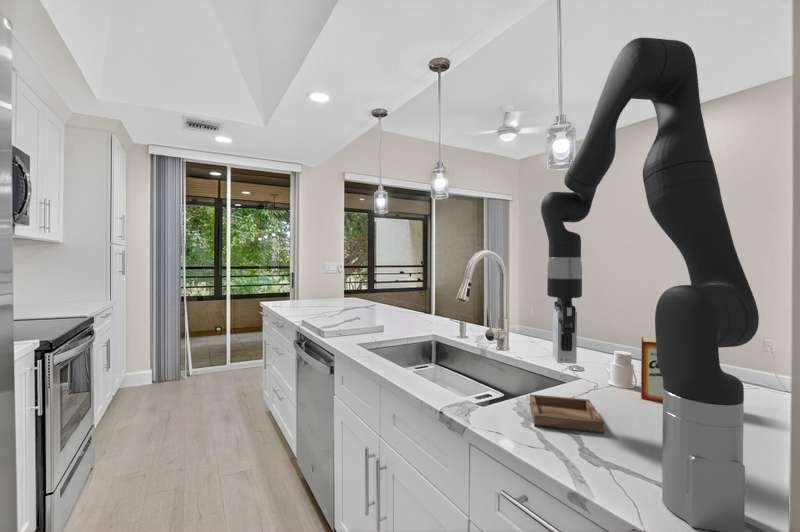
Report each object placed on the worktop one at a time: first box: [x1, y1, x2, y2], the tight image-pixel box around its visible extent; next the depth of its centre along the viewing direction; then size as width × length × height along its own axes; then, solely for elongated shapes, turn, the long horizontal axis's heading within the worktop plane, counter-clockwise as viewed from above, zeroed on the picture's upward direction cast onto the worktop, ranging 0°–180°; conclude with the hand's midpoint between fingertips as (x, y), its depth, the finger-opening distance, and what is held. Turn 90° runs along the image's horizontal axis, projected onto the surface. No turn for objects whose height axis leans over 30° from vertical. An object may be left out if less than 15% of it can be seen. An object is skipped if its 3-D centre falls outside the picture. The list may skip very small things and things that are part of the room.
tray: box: [529, 393, 605, 435], centre depth 89 cm, size 14×14×2 cm
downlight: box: [606, 350, 637, 390], centre depth 113 cm, size 8×7×10 cm
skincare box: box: [552, 308, 578, 365], centre depth 88 cm, size 6×4×12 cm
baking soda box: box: [640, 337, 663, 403], centre depth 102 cm, size 10×6×16 cm
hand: (564, 347), depth 88 cm, fingers closed on skincare box, 6 cm apart
